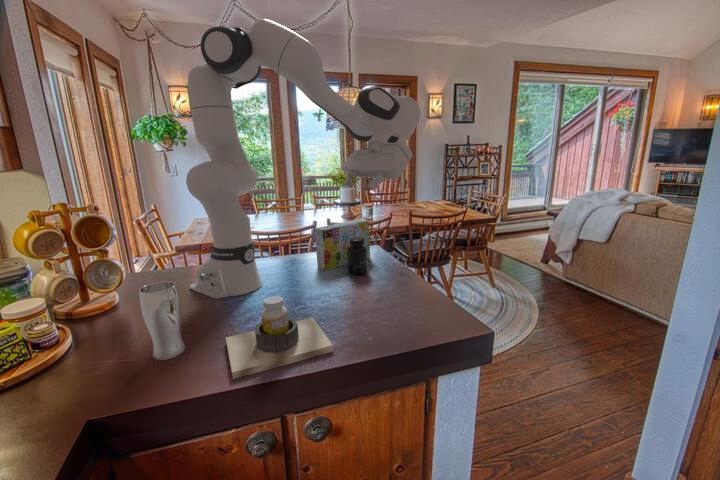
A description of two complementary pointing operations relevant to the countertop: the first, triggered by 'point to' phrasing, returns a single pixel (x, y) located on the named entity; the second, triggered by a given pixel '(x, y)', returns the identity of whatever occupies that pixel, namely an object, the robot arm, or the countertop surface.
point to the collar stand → (276, 347)
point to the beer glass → (162, 318)
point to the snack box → (339, 242)
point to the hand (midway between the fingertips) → (357, 187)
